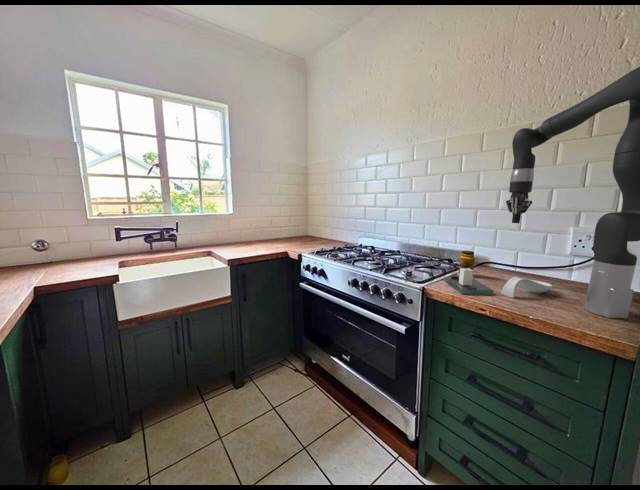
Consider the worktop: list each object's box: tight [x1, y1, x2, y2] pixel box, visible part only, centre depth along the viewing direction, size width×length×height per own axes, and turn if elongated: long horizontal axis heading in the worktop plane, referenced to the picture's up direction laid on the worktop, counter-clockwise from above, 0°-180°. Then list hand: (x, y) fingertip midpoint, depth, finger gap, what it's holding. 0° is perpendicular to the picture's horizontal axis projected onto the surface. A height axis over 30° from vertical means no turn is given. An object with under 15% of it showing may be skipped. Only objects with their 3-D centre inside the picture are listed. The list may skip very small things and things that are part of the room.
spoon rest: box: [500, 276, 553, 299], centre depth 108 cm, size 24×12×7 cm, turn 117°
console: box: [444, 275, 495, 296], centre depth 113 cm, size 16×12×3 cm
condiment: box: [456, 250, 476, 279], centre depth 131 cm, size 7×8×12 cm
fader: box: [459, 268, 474, 286], centre depth 110 cm, size 3×4×6 cm
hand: (515, 223), depth 113 cm, fingers closed
